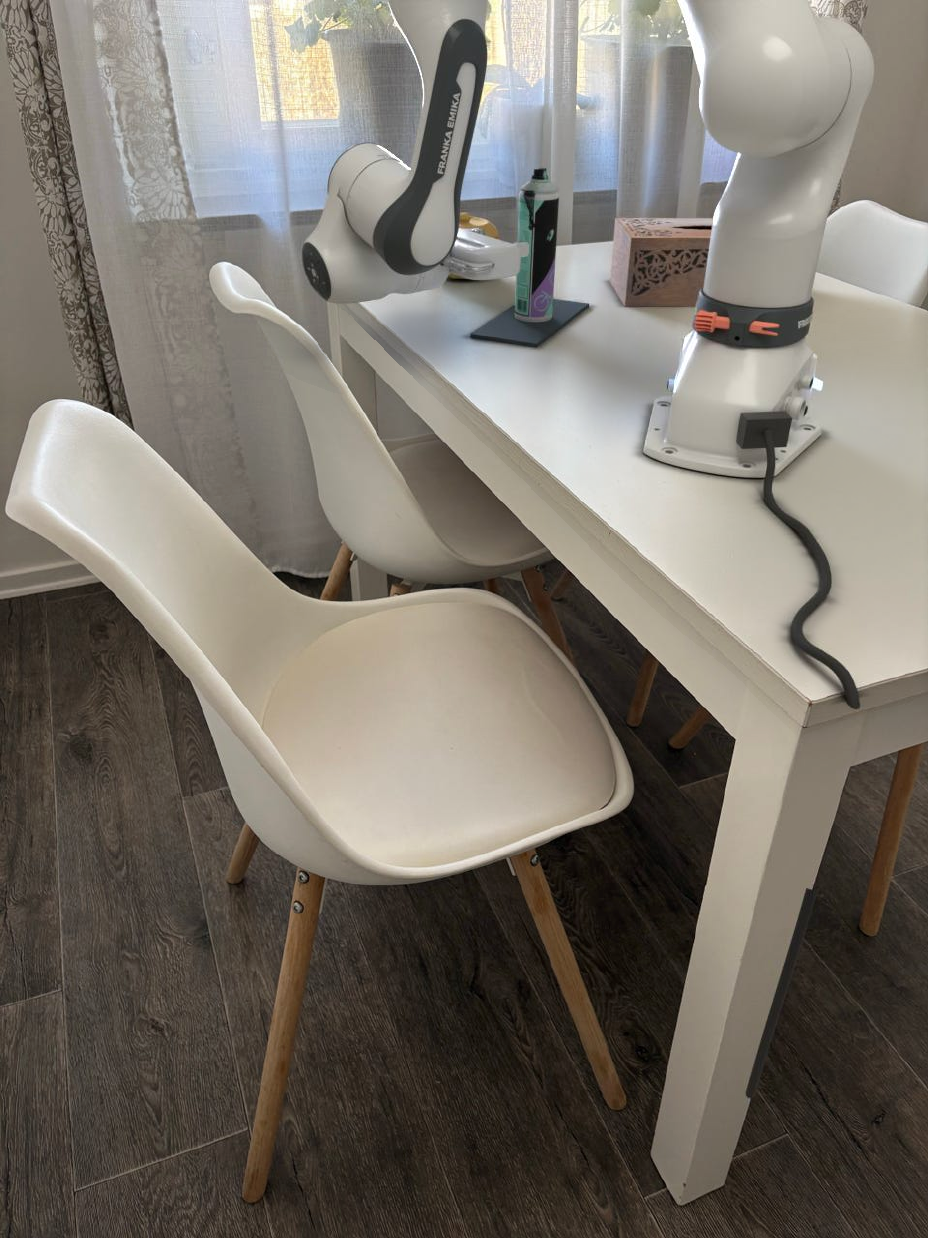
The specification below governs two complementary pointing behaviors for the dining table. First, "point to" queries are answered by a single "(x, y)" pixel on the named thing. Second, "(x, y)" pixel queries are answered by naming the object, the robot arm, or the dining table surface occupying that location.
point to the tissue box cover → (660, 260)
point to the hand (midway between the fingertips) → (503, 241)
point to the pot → (475, 222)
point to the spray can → (537, 248)
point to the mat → (529, 325)
